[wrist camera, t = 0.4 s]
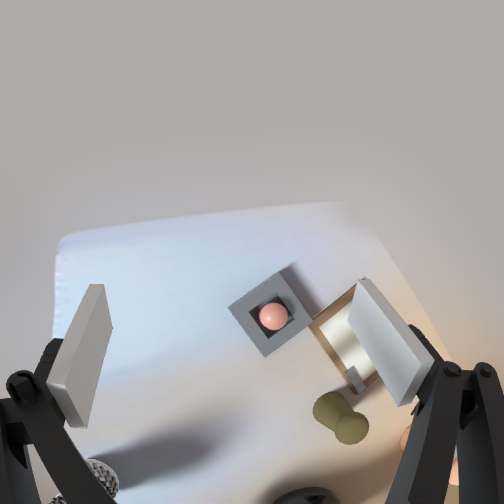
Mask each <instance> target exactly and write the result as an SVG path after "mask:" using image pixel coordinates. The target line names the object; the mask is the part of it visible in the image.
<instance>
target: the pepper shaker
mask: <svg viewBox="0 0 504 504" xmlns="http://www.w3.org/2000/svg"><path fill="white" fill-rule="evenodd" d="M313 415H314V418H315V419H316V420H317V421H318V422H320V423H321V424H323V425H324V426H326V427H328V428H329V429H331V430H332V431H334V432H335V436H336V438H337V439H338V440H339V441H340V442H342V443H344V444H347V445H352V444H356V443H358V442H360V441H361V440H363V439H364V438H365V436H366V435H367V433H368V430H369V423H368V420H367V418H366V417H365V416H364V415H363V414H361V413H359V412H354V411H353V409H352V408H351V407H350V405H349V404H348V403H347V402H346V400H345V399H344V398H343V396H342V395H340V394H339V393H335V392H330V393H326V394H324V395H322V396H321V397H320V398H318V400H317V401H316V402H315V404H314V407H313Z"/></svg>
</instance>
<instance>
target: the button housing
mask: <svg viewBox="0 0 504 504" xmlns="http://www.w3.org/2000/svg"><path fill="white" fill-rule="evenodd" d="M270 302H273V303H278V304H281V305H282V306H284V307H285V309H286V310H287V313H288V319H287V322H286V324H285V325H284V326H283V327H282V328H280V329H278V330H271V329H268V328H267V327H265V326H264V325H262V323H261V322H260V320H259V311H260V309H261V307H262V306H263V305H265V304H266V303H270ZM228 309H229V310H230V311H231V313H232V314H233V316H234V317H235V318H236V320H237V321H238V323H239V324H240V325H241V327H242V328H243V329H244V331H245V332H246V333H247V335H248V336H249V338H250V339H251V340H252V342H253V343H254V344H255V346H256V347H257V348H258V350H259V351H260V352H261V354H262V355H263V356H264V357H267V356H268V355H269V354H271V353H272V352H273V351H275V350H276V349H277V348H279V347H280V346H282V345H283V344H284V343H286V342H287V341H288V340H290V339H291V338H292V337H294V336H295V335H296V334H297V333H299V332H300V331H301V330H303V329H304V328H305V327H307V326H308V325H309V324H310V323H312V322H313V320H312V319H311V318H310V316H309V315H308V313H307V312H306V310H305V309H304V307H303V306H302V304H301V303H300V302H299V300H298V299H297V297H296V296H295V294H294V293H293V291H292V290H291V289H290V287H289V286H288V284H287V283H286V281H285V280H284V278H283V277H282V276H281V274H280V273H275V274H274V275H272V276H271V277H269V278H268V279H267V280H265V281H264V282H263V283H261V284H260V285H258V286H257V287H256V288H254V289H253V290H251V291H250V292H249V293H247V294H246V295H244V296H243V297H242V298H240V299H239V300H237V301H236V302H235V303H233V304H232V305H230V306H229V307H228Z"/></svg>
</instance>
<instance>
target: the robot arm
mask: <svg viewBox="0 0 504 504" xmlns="http://www.w3.org/2000/svg"><path fill="white" fill-rule="evenodd" d="M347 321H348V323H349V325H350V326H351V328H352V330H353V331H354V333H355V335H356V336H357V338H358V340H359V341H360V343H361V345H362V346H363V348H364V350H365V351H366V353H367V355H368V356H369V358H370V360H371V361H372V363H373V365H374V366H375V368H376V370H377V372H378V373H379V375H380V377H381V378H382V380H383V382H384V384H385V385H386V387H387V389H388V391H389V392H390V394H391V396H392V398H393V399H394V401H395V403H396V405H397V406H398V407H399V406H402V405H406V404H409V403H411V402H412V401H413V399H414V397H415V395H417V396H418V398H419V402H418V403H417V405H416V406H415V408H414V410H413V411H412V413H411V415H413V414H414V412H415V414H414V417H413V421H412V425H411V428H410V432H409V435H408V439H407V442H406V445H405V449H404V452H403V455H402V458H401V461H400V464H399V467H398V470H397V473H396V476H395V478H394V481H393V484H392V486H391V489H390V492H389V494H388V497H387V499H386V502H385V504H444V500H445V496H446V492H447V488H448V483H449V479H450V474H451V470H452V464H453V459H454V454H455V448H456V449H457V461H458V478H459V504H504V395H503V391H502V388H501V385H500V382H499V379H498V376H497V372H496V371H495V369H494V368H493V367H492V366H491V365H489V364H488V363H484V362H480V363H478V364H476V366H475V368H474V370H462V369H461V368H460V367H459V366H458V365H457V364H455V363H453V362H449V361H444V360H443V359H442V357H441V356H440V355H439V354H438V352H437V351H436V350H435V348H434V347H433V346H432V345H431V344H430V343H429V341H428V340H427V338H425V336H424V335H423V333H422V332H421V331H420V330H419V329H417V328H416V327H415V326H413V325H412V324H411V325H407V324H406V323H405V321H404V320H403V319H402V318H401V316H400V315H399V314H398V313H397V312H396V310H395V309H394V308H393V307H392V305H391V304H390V303H389V302H388V301H387V299H386V298H385V297H384V296H383V294H382V293H381V292H380V291H379V290H378V289H377V287H376V286H375V285H374V284H373V283H372V281H371V280H370V279H367V280H358V281H357V285H356V289H355V293H354V297H353V301H352V305H351V308H350V312H349V316H348V319H347ZM112 329H113V327H112V322H111V318H110V313H109V308H108V304H107V299H106V293H105V288H104V284H90V285H89V287H88V289H87V291H86V293H85V295H84V297H83V299H82V301H81V303H80V305H79V307H78V309H77V312H76V314H75V316H74V318H73V320H72V322H71V324H70V327H69V329H68V331H67V333H66V335H65V338H64V339H58V338H54V339H53V340H52V341H51V342H50V343H49V344H48V345H47V346H46V348H45V350H44V352H43V355H42V357H41V359H40V362H39V363H38V366H37V368H36V370H35V372H34V374H33V373H32V372H30V371H27V370H21V371H17V372H15V373H14V374H12V375H11V376H10V377H9V378H8V380H7V383H6V389H7V391H8V393H9V394H10V396H11V398H5V399H0V504H41V501H40V498H39V494H38V490H37V487H36V483H35V479H34V475H33V471H32V467H31V463H30V458H29V454H28V449H27V445H28V444H34V446H35V448H36V450H37V452H38V454H39V456H40V458H41V460H42V462H43V464H44V465H45V467H46V469H47V471H48V473H49V474H50V476H51V478H52V479H53V481H54V483H55V485H56V486H57V488H58V490H59V491H60V493H61V494H62V496H63V498H64V499H65V501H66V502H67V504H117V503H116V501H115V500H114V499H113V498H112V496H111V495H110V494H109V493H108V491H107V490H106V489H105V488H104V486H103V485H102V484H101V482H100V481H99V480H98V478H97V477H96V476H95V474H94V473H93V471H92V470H91V469H90V467H89V466H88V464H87V463H86V461H85V460H84V459H83V457H82V456H81V454H80V453H79V451H78V450H77V448H76V446H75V445H74V443H73V442H72V440H71V439H70V437H69V435H68V434H67V432H66V431H65V429H64V423H65V419H66V421H67V423H68V424H69V426H70V427H74V428H81V429H87V426H88V421H89V417H90V412H91V408H92V404H93V399H94V395H95V391H96V387H97V383H98V379H99V375H100V371H101V368H102V364H103V360H104V357H105V353H106V350H107V346H108V343H109V339H110V336H111V332H112ZM273 504H341V503H340V501H339V500H338V498H337V497H336V495H335V494H334V493H332V492H331V491H329V490H327V489H323V488H304V489H299V490H296V491H293V492H290V493H288V494H286V495H284V496H282V497H281V498H279V499H278V500H276V501H275V502H274V503H273Z"/></svg>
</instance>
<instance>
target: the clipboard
mask: <svg viewBox="0 0 504 504" xmlns="http://www.w3.org/2000/svg"><path fill="white" fill-rule="evenodd" d="M356 285H357V283H356V284H355V285H354V286H353V287H352V288H350V289H349V290H348V291H347V292H346V293H344V294H343V295H342V296H341V297H340V298H338V299H337V300H336V301H335V302H333V303H332V304H331V305H330V306H328V307H327V308H326V309H325V310H323V311H322V312H321V313H320V314H318V315H317V316H316V317H315V318H313V319H312V320H313V322H312V323H310V324H309V325H308V327H309V328H310V330H311V331H312V333H313V334H314V336H315V337H316V338H317V340H318V341H319V343H320V344H321V346H322V347H323V349H324V350H325V351H326V353H327V354H328V356H329V357H330V359H331V360H332V362H333V363H334V364H335V366H336V367H337V369H338V370H339V372H340V373H341V375H342V376H343V377H344V379H345V380H346V382H347V383H348V385H349V386H350V388H351V389H352V390H353V392H354V393H355V394H356V395H358V394H359V393H361V392H362V391H363V390H364V389H365V388H366V387H367V386H368V385H369V384H370V383H372V382H373V381H374V380H375V379H376V378H377V377H378V376H379V373H378V372H377V370H376V368H375V366H374V365H373V363H372V361H371V360H370V358H369V356H368V355H367V353H366V351H365V350H364V348H363V346H362V345H361V343H360V341H359V340H358V338H357V336H356V335H355V333H354V331H353V330H352V328H351V326H350V325H349V323H348V321H347V319H348V316H349V312H350V308H351V305H352V301H353V297H354V293H355V289H356Z"/></svg>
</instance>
